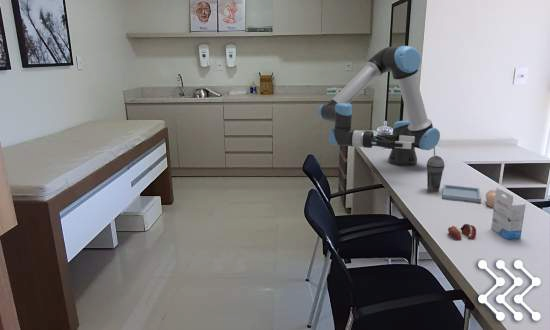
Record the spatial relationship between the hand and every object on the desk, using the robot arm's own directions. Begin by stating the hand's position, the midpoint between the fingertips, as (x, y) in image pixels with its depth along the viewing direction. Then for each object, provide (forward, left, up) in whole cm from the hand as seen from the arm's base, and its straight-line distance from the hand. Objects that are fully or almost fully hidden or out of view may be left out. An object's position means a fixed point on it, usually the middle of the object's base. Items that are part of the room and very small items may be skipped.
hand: (413, 142), depth 168 cm
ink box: (+36, +34, -21) cm, 54 cm away
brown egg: (+9, +32, -21) cm, 39 cm away
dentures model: (+43, +21, -21) cm, 52 cm away
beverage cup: (0, +10, -21) cm, 23 cm away
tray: (+2, +21, -21) cm, 29 cm away
